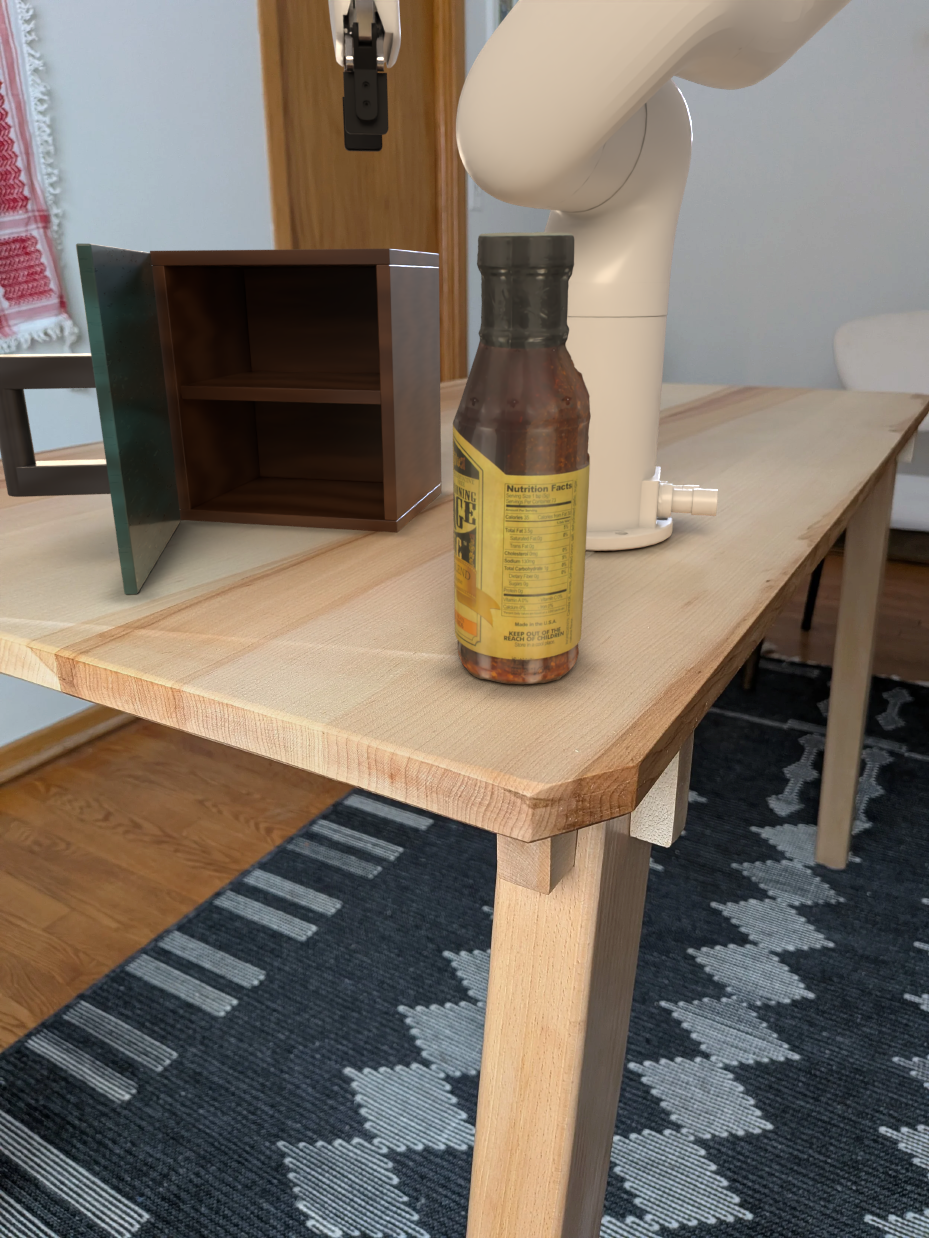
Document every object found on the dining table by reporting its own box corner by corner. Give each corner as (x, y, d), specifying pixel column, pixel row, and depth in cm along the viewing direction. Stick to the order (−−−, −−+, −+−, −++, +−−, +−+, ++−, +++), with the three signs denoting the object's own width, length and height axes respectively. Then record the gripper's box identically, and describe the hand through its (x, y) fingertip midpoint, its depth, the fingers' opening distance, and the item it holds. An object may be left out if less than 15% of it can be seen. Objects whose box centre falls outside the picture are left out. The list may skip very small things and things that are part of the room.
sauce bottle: (465, 638, 49) (464, 236, 42) (583, 645, 48) (602, 235, 41) (443, 690, 43) (437, 229, 36) (577, 699, 42) (598, 227, 35)
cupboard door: (12, 600, 54) (-54, 243, 47) (85, 524, 71) (44, 252, 64) (138, 594, 55) (90, 243, 48) (181, 521, 72) (150, 252, 65)
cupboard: (397, 533, 69) (389, 248, 62) (180, 521, 73) (149, 250, 66) (441, 493, 82) (439, 253, 75) (255, 485, 85) (236, 255, 78)
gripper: (416, -168, 59) (421, 127, 65) (399, -73, 76) (404, 157, 82) (299, -175, 59) (315, 125, 65) (307, -77, 75) (319, 156, 81)
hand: (365, 142), depth 73 cm, fingers open, 9 cm apart
